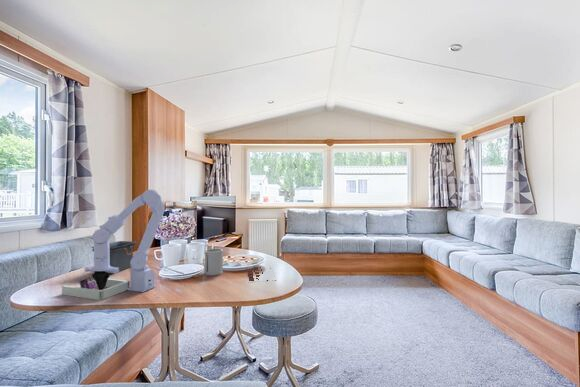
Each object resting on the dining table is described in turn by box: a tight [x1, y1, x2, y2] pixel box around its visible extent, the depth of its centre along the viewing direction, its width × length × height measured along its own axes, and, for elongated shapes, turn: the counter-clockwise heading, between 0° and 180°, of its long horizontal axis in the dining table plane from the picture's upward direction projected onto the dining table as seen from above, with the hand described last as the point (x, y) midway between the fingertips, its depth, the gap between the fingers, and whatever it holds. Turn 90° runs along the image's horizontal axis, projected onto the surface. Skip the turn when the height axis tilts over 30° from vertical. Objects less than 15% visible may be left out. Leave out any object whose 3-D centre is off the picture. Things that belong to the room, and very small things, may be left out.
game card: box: [78, 276, 104, 290], centre depth 127 cm, size 7×5×9 cm
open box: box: [61, 278, 130, 301], centre depth 128 cm, size 21×14×4 cm, turn 73°
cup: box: [204, 248, 224, 276], centre depth 158 cm, size 9×9×12 cm
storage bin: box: [91, 240, 137, 275], centre depth 161 cm, size 21×16×14 cm
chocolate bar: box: [246, 266, 263, 281], centre depth 157 cm, size 27×14×1 cm, turn 10°
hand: (101, 289), depth 127 cm, fingers closed
